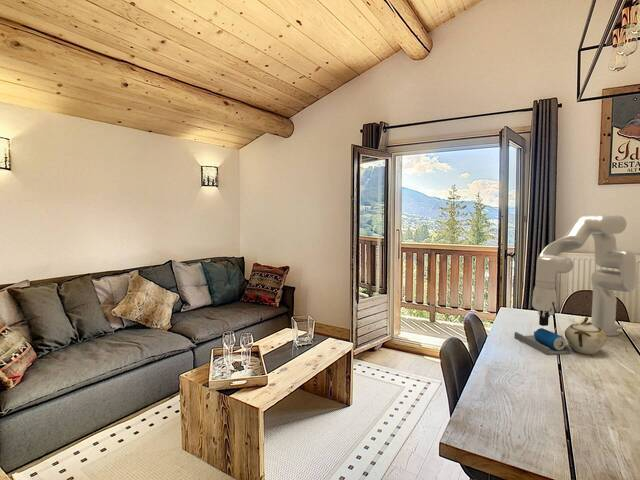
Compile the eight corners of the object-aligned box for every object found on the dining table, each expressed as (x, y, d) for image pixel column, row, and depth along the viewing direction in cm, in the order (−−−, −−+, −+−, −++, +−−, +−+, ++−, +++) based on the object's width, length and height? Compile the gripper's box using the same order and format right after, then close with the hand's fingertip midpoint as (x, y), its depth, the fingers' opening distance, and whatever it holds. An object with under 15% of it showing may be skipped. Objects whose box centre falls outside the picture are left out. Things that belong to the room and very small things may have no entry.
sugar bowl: (600, 361, 150) (603, 325, 149) (558, 351, 161) (559, 317, 160) (610, 349, 163) (612, 316, 162) (570, 341, 174) (571, 309, 173)
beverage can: (542, 343, 172) (562, 353, 160) (531, 338, 171) (550, 348, 159) (548, 330, 172) (569, 339, 160) (536, 325, 171) (556, 334, 159)
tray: (535, 336, 180) (535, 331, 180) (571, 353, 158) (571, 347, 158) (514, 337, 179) (514, 332, 179) (547, 355, 157) (547, 348, 157)
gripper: (526, 281, 173) (524, 320, 174) (549, 288, 158) (547, 330, 159) (541, 281, 173) (539, 320, 175) (566, 287, 159) (564, 330, 160)
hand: (543, 325), depth 167 cm, fingers closed
